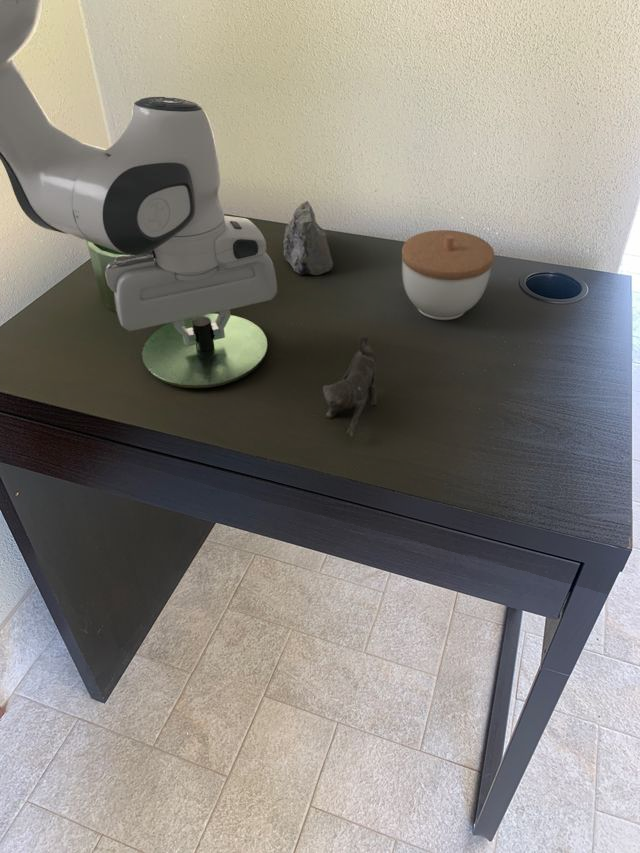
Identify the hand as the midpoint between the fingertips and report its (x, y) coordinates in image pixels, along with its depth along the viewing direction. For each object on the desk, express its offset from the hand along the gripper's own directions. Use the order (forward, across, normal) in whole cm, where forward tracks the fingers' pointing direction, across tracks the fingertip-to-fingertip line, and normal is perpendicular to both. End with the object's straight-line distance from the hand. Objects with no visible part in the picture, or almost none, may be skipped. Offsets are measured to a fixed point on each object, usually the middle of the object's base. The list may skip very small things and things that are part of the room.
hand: (204, 340), depth 90 cm
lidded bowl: (+3, +35, -2) cm, 35 cm away
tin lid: (+2, 0, 0) cm, 2 cm away
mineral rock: (+3, +23, +20) cm, 31 cm away
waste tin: (+2, -3, +20) cm, 20 cm away
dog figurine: (+3, +13, -18) cm, 22 cm away
